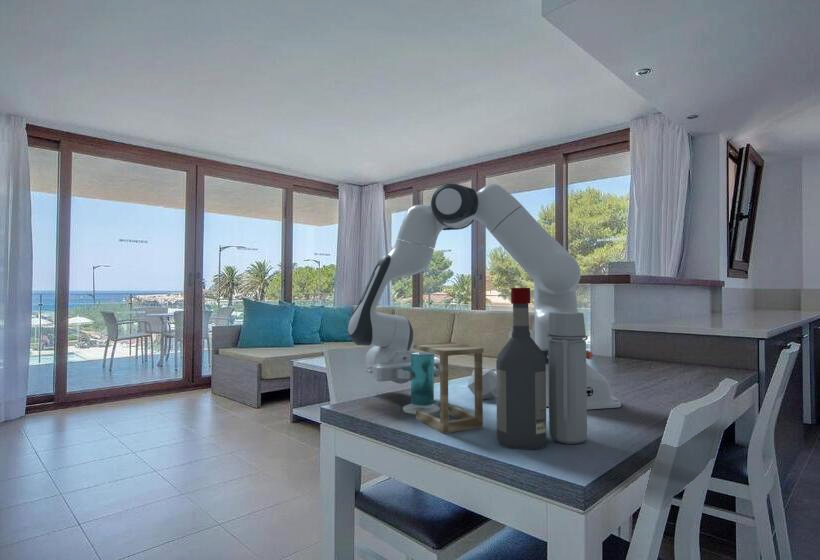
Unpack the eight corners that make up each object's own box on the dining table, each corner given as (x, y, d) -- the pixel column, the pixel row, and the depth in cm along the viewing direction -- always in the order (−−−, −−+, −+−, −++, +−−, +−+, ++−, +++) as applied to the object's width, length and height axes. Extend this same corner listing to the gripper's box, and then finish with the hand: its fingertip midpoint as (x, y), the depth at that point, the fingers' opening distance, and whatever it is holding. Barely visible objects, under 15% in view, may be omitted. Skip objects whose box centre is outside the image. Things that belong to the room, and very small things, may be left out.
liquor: (496, 447, 88) (494, 288, 89) (500, 433, 97) (498, 288, 98) (546, 451, 86) (544, 287, 86) (545, 436, 95) (544, 287, 95)
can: (432, 399, 118) (432, 351, 118) (434, 405, 112) (435, 354, 112) (410, 399, 118) (410, 351, 118) (411, 405, 112) (411, 354, 112)
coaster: (437, 405, 120) (437, 402, 120) (441, 414, 111) (441, 412, 111) (402, 405, 120) (402, 403, 120) (403, 415, 111) (403, 412, 111)
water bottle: (549, 431, 98) (547, 311, 98) (589, 436, 95) (588, 312, 95) (543, 445, 89) (542, 313, 90) (588, 451, 86) (586, 314, 87)
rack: (414, 418, 108) (414, 344, 108) (451, 413, 113) (451, 342, 113) (444, 434, 96) (443, 351, 97) (484, 427, 101) (483, 348, 101)
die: (496, 405, 123) (510, 373, 127) (468, 389, 123) (482, 357, 127) (486, 409, 130) (499, 378, 134) (459, 394, 130) (473, 364, 134)
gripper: (363, 357, 122) (385, 364, 110) (431, 352, 131) (458, 358, 119) (363, 381, 122) (385, 391, 110) (431, 374, 131) (458, 383, 119)
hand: (424, 374), depth 114 cm, fingers closed on can, 6 cm apart
